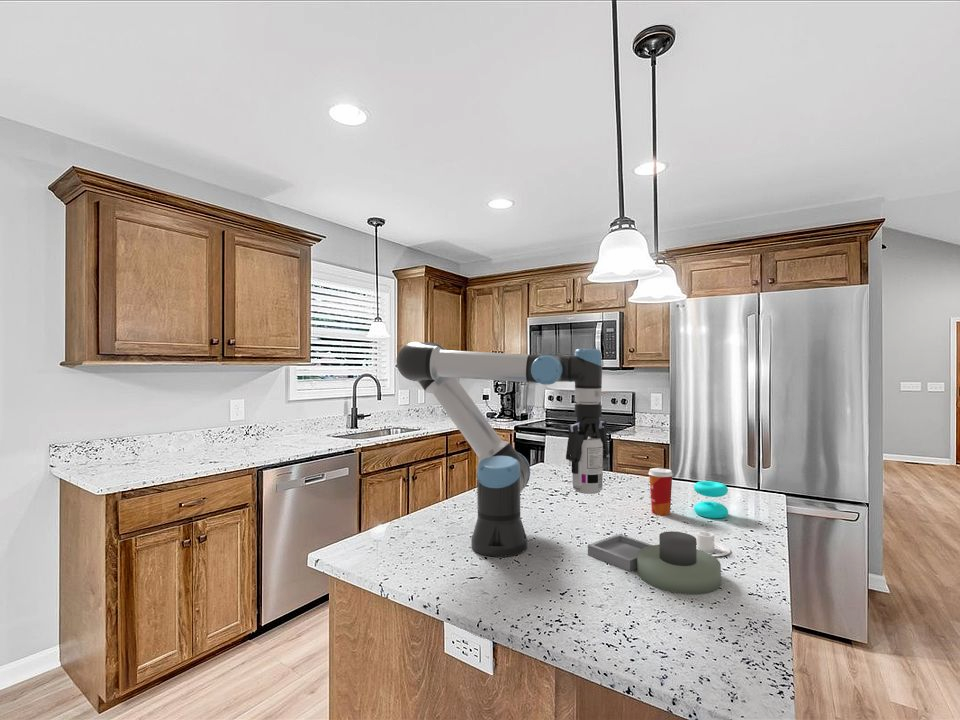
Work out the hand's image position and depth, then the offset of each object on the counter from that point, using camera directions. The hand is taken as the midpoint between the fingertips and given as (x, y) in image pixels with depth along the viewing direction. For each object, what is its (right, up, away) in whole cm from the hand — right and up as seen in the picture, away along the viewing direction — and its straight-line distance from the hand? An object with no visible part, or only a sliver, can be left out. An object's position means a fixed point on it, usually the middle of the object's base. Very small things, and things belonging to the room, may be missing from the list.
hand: (587, 482), depth 142 cm
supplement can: (0, -3, 0) cm, 3 cm away
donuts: (+44, -15, +19) cm, 50 cm away
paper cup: (+29, -15, +21) cm, 39 cm away
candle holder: (+29, -16, -10) cm, 35 cm away
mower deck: (+12, -15, -22) cm, 29 cm away
